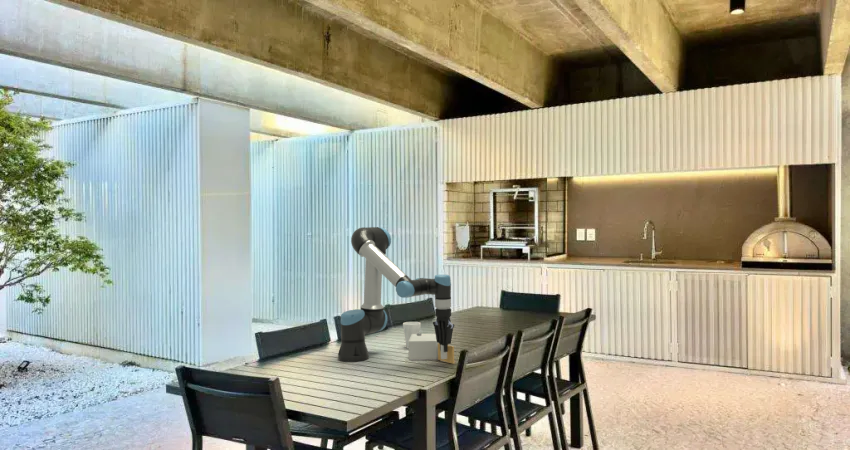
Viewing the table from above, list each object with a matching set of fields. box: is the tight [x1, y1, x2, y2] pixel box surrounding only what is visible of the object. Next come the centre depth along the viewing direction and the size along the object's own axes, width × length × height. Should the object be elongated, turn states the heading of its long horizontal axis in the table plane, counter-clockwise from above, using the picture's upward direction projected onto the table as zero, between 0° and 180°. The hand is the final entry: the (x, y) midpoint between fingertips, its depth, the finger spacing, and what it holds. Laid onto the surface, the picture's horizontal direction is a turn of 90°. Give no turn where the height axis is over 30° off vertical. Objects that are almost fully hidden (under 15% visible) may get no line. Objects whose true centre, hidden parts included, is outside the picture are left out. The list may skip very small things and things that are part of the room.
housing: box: [408, 332, 438, 361], centre depth 299 cm, size 20×16×10 cm
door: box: [436, 343, 455, 364], centre depth 284 cm, size 1×13×8 cm, turn 36°
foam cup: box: [402, 321, 422, 350], centre depth 320 cm, size 10×9×13 cm
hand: (444, 358), depth 279 cm, fingers closed
